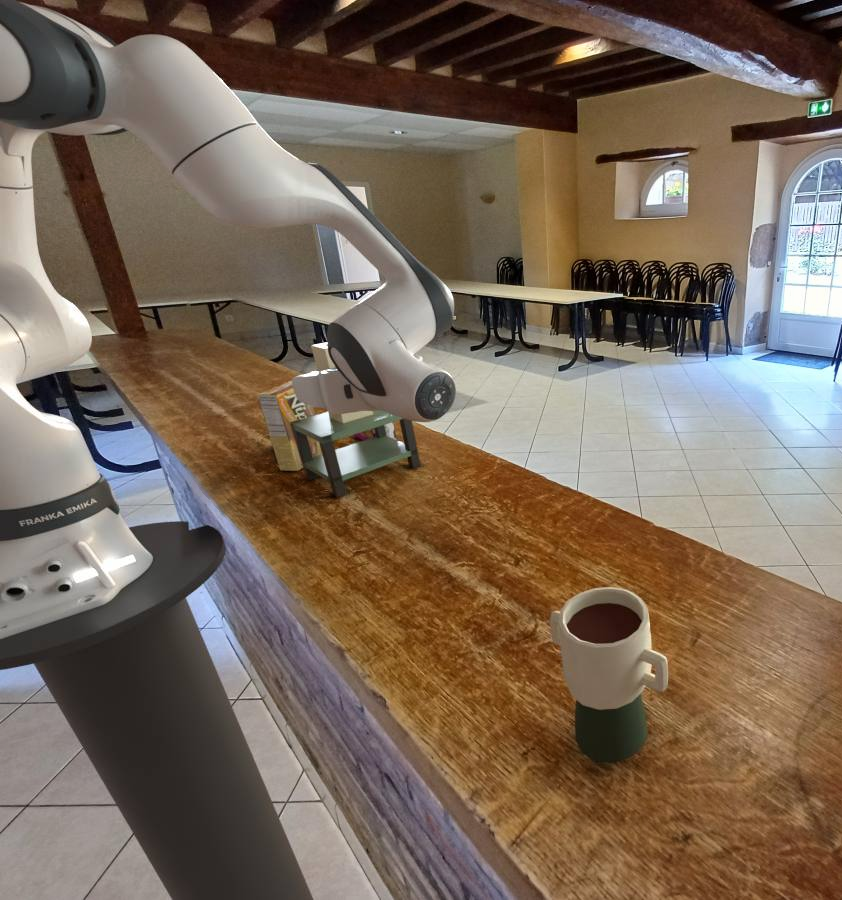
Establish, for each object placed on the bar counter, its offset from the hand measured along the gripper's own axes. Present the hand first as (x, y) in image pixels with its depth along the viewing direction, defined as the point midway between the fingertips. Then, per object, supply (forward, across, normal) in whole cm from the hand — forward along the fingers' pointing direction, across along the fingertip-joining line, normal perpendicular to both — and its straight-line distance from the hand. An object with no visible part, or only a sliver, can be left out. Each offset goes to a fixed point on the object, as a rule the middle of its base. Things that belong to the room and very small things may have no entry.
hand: (341, 369), depth 95 cm
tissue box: (+1, 0, +9) cm, 9 cm away
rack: (+1, 0, +20) cm, 20 cm away
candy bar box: (+16, -10, +20) cm, 27 cm away
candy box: (+16, +5, +20) cm, 26 cm away
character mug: (-72, +14, +20) cm, 76 cm away
